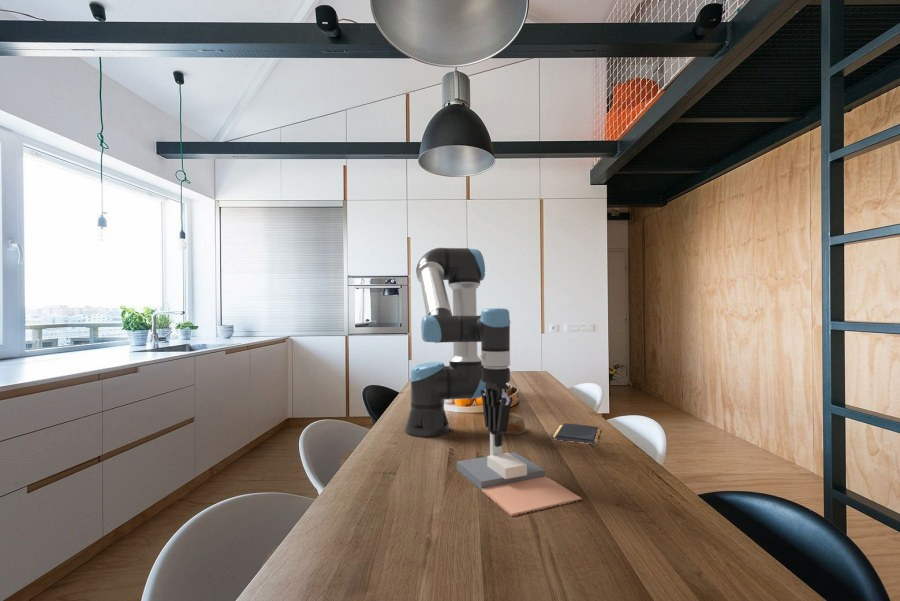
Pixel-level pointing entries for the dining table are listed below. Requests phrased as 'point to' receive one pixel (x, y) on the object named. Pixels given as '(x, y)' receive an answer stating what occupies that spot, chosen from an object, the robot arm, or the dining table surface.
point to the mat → (529, 495)
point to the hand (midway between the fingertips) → (495, 457)
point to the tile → (507, 465)
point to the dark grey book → (576, 433)
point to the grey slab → (487, 477)
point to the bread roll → (515, 425)
